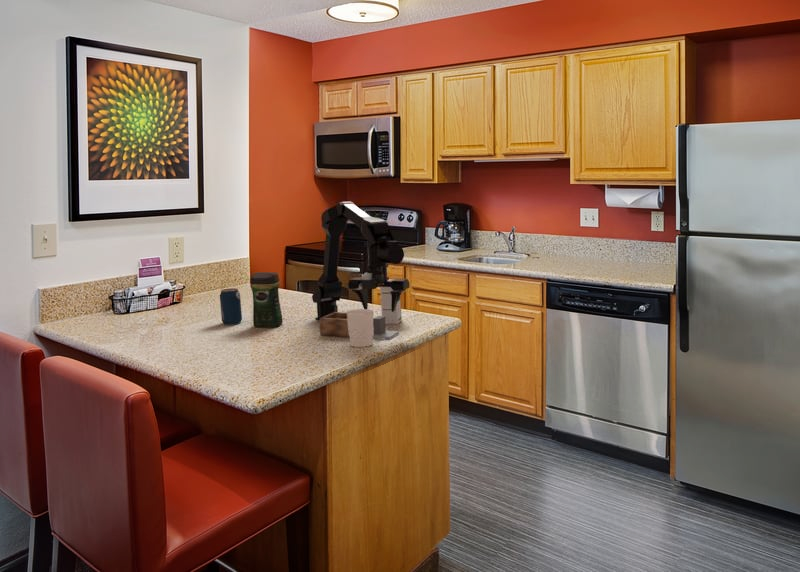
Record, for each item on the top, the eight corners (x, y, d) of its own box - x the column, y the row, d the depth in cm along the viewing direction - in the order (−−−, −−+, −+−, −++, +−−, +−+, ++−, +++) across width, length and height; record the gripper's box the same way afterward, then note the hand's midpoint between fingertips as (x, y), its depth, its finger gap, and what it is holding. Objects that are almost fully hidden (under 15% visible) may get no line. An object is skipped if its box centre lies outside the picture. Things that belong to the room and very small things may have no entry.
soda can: (246, 321, 219) (243, 288, 217) (233, 326, 213) (230, 291, 211) (230, 320, 222) (228, 287, 220) (217, 324, 216) (215, 291, 214)
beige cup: (359, 340, 188) (357, 308, 186) (379, 343, 184) (378, 310, 182) (342, 346, 182) (341, 313, 180) (363, 349, 177) (362, 315, 176)
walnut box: (320, 335, 195) (319, 318, 194) (335, 328, 204) (334, 311, 203) (354, 338, 191) (353, 320, 190) (367, 330, 200) (367, 313, 199)
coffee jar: (285, 323, 214) (282, 270, 211) (276, 328, 207) (272, 274, 204) (260, 322, 216) (256, 270, 213) (250, 328, 209) (245, 274, 206)
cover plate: (360, 338, 191) (359, 319, 190) (369, 333, 198) (369, 314, 197) (390, 340, 188) (389, 320, 187) (398, 334, 194) (398, 315, 193)
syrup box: (398, 324, 207) (397, 281, 205) (381, 324, 208) (379, 281, 206) (401, 320, 213) (400, 279, 210) (385, 320, 214) (383, 279, 211)
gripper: (338, 264, 185) (340, 315, 187) (395, 265, 178) (397, 318, 180) (354, 259, 195) (356, 307, 198) (409, 260, 188) (410, 310, 191)
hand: (379, 311), depth 191 cm, fingers open, 9 cm apart
